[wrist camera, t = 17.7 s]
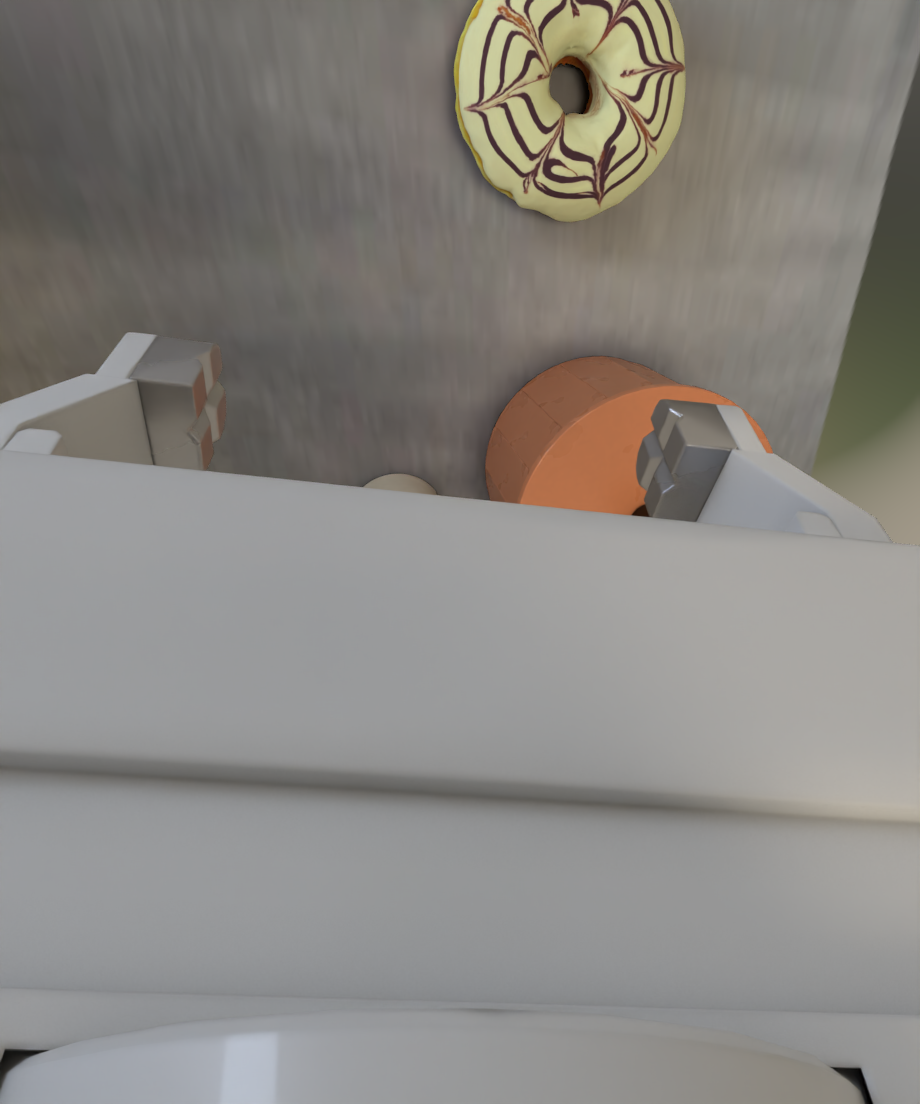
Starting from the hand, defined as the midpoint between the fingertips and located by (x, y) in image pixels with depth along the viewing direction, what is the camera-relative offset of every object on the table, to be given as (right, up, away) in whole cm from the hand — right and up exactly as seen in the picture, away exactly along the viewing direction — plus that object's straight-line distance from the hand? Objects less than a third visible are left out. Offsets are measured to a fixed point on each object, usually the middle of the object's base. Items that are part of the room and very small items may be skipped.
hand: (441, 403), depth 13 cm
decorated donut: (+5, +19, +21) cm, 29 cm away
